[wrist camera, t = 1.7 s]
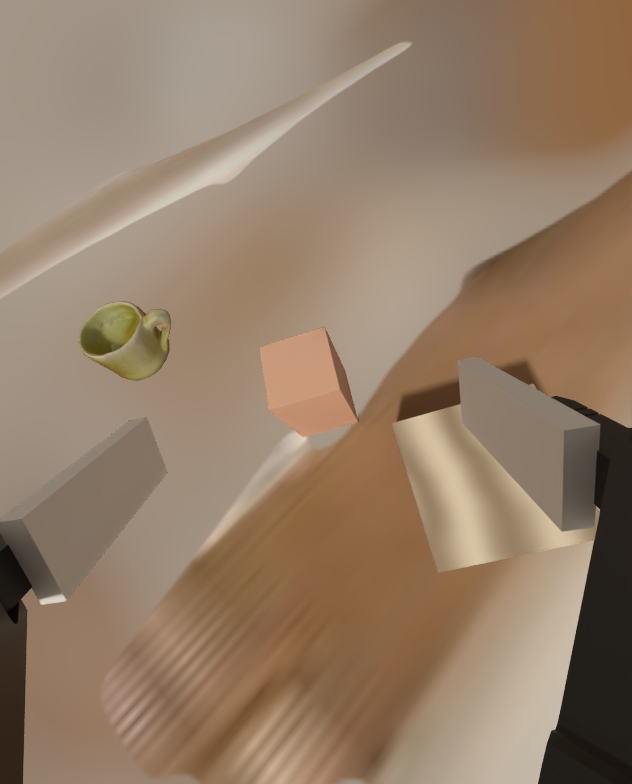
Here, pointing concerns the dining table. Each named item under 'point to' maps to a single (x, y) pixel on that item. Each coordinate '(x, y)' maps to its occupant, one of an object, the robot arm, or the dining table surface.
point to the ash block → (471, 496)
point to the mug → (126, 339)
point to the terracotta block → (307, 383)
